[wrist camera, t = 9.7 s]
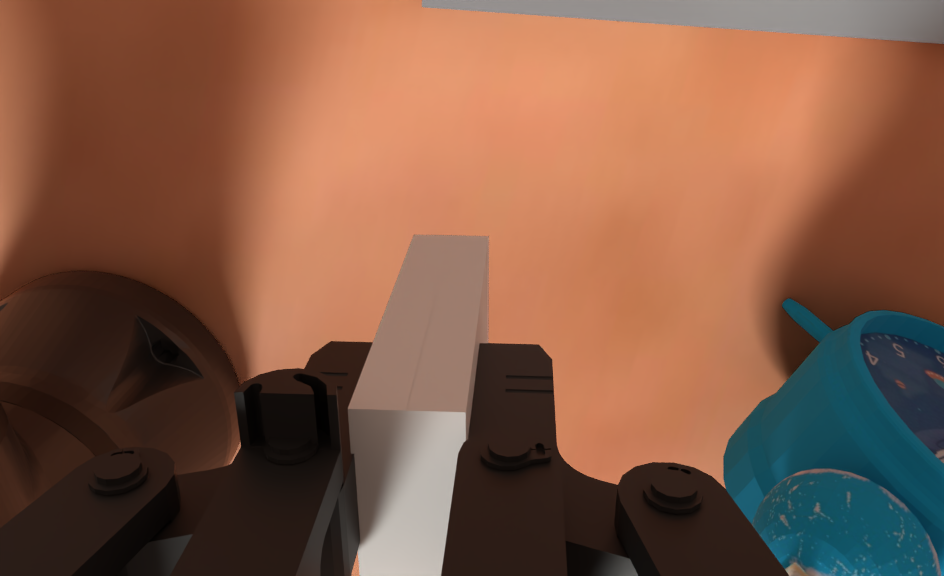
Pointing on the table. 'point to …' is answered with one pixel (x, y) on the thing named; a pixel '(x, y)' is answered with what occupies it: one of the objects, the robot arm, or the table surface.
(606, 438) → the table surface
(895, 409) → the alarm clock
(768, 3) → the gauge board
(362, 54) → the table surface
